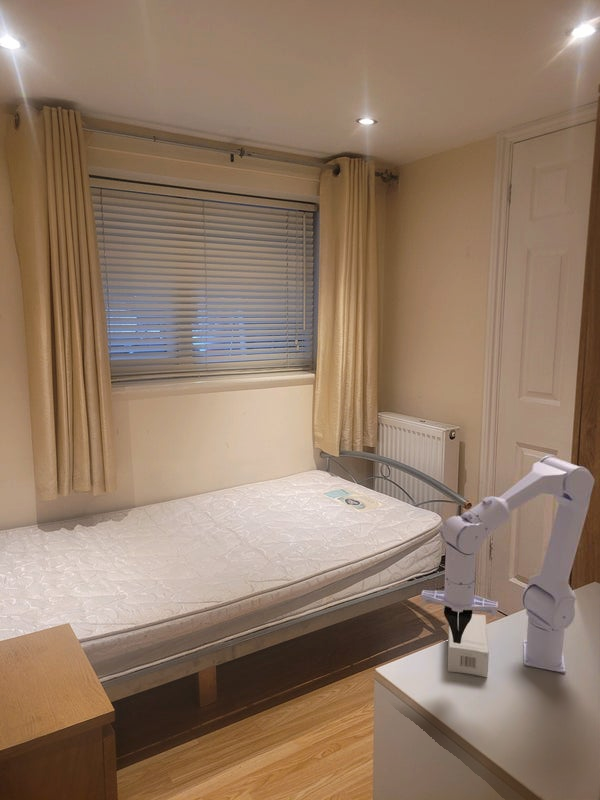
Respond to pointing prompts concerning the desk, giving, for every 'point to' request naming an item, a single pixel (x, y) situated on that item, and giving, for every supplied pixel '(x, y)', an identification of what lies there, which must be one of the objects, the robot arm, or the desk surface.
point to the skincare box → (470, 649)
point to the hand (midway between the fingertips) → (457, 640)
